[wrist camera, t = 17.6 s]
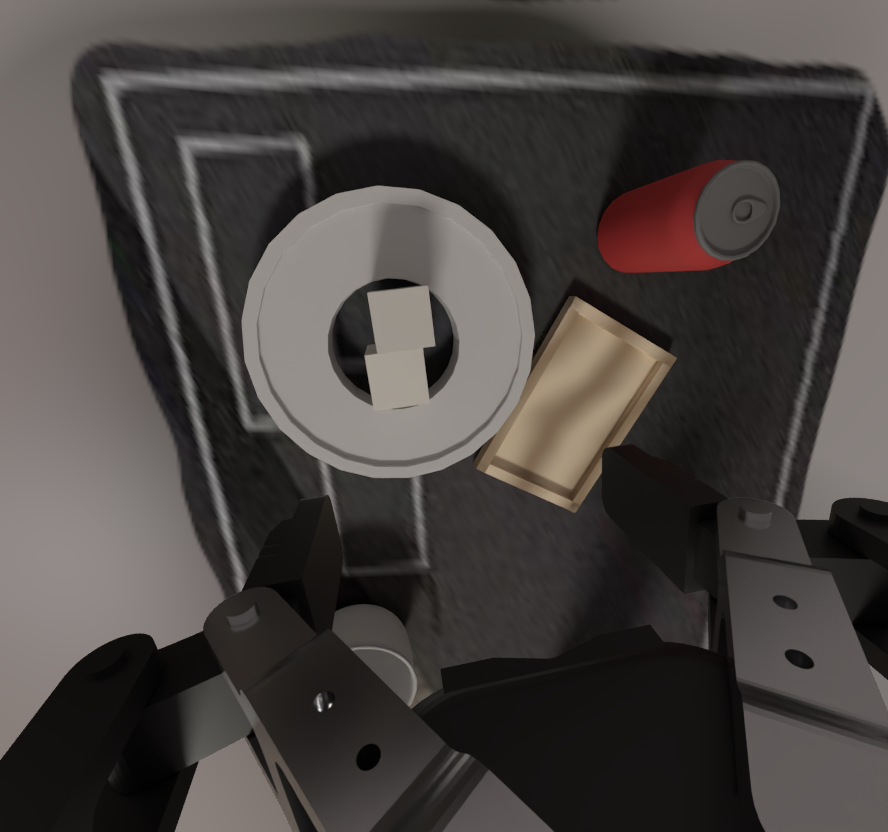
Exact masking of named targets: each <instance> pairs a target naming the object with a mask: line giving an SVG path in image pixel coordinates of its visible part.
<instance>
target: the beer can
mask: <svg viewBox="0 0 888 832" xmlns="http://www.w3.org/2000/svg"><path fill="white" fill-rule="evenodd" d="M779 209H780V190H779V187H778V183H777V180H776V178H775V176H774V175H773V174H772V172H771V171H770V170H769V168H768V167H766V166H765V165H763V164H761V163H759V162H757V161H751V160H741V161H733V160H715V161H712V162H708V163H705V164H702V165H699V166H696V167H693V168H691V169H688V170H685V171H683V172H680V173H677V174H675V175H672V176H669V177H666V178H664V179H661V180H658V181H656V182H653V183H650V184H648V185H645V186H642V187H640V188H637V189H634V190H631V191H629V192H626V193H623V194H622V195H621V196H619V197H618V198H616V199H615V200H613V201H612V203H611V204H610V205H609V206H608V208H607V209H606V210H605V211H604V214H603V216H602V218H601V221H600V223H599V228H598V235H597V239H598V246H599V250H600V253H601V255H602V257H603V259H604V260H605V261H606V262H607V263H608V264H609V265H610V266H611V267H612V268H613V269H616V270H618V271H620V272H626V273H641V272H669V271H697V270H709V269H713V268H716V267H719V266H722V265H725V264H728V263H730V262H732V261H734V260H737V259H740V258H744V257H746V256H748V255H749V254H751V253H752V252H754V251H755V250H757V249H758V248H759V247H760V246H761V245H762V244H763V243H764V241H765V240H766V239H767V238H768V237H769V235H770V233H771V231H772V229H773V227H774V226H775V224H776V221H777V217H778V213H779Z"/></svg>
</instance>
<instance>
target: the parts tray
mask: <svg viewBox="0 0 888 832" xmlns="http://www.w3.org/2000/svg"><path fill="white" fill-rule="evenodd" d="M676 359H677V358H676V357H674V356H673V355H671V354H669V353H668V352H666V351H664V350H663V349H661V348H660V347H658V346H656V345H655V344H653V343H651V342H650V341H648V340H646V339H645V338H643V337H642V336H640V335H638V334H637V333H635V332H633V331H632V330H630V329H628V328H627V327H625V326H624V325H622V324H620V323H619V322H617V321H615V320H614V319H612V318H610V317H609V316H607V315H605V314H604V313H602V312H601V311H599V310H597V309H596V308H594V307H592V306H591V305H589V304H587V303H586V302H584V301H583V300H581V299H579V298H578V297H576V296H569V297H568V299H567V301H566V302H565V304H564V306H563V308H562V309H561V311H560V313H559V315H558V316H557V318H556V320H555V321H554V323H553V325H552V327H551V328H550V330H549V332H548V334H547V335H546V337H545V339H544V341H543V342H542V344H541V346H540V348H539V349H538V351H537V353H536V355H535V356H534V358H533V360H532V362H531V370H530V373H529V376H528V378H527V381H526V383H525V386H524V389H523V391H522V394H521V396H520V399H519V401H518V404H517V405H516V407H515V408H514V410H513V411H512V412H511V414H510V415H509V417H508V418H507V419H506V421H505V422H504V424H503V425H502V427H501V428H500V429H499V431H498V432H497V433H496V434H495V435H494V436H492V437H491V438H490V439H489V440H488V441H487V442H486V443H484V445H483V447H482V448H481V450H480V452H479V454H478V455H477V457H476V459H475V461H474V462H473V464H474V466H475V468H476V469H477V470H480V471H482V472H484V473H486V474H489V475H491V476H493V477H495V478H498V479H500V480H502V481H504V482H507V483H509V484H511V485H514V486H516V487H518V488H520V489H523V490H525V491H527V492H529V493H532V494H534V495H536V496H538V497H541V498H543V499H545V500H547V501H550V502H552V503H554V504H557V505H559V506H561V507H563V508H566V509H568V510H570V511H572V512H576V511H577V509H578V508H579V506H580V505H581V503H582V502H583V500H584V499H585V497H586V496H587V494H588V493H589V491H590V490H591V488H592V487H593V485H594V483H595V482H596V480H597V479H598V477H599V476H600V474H601V473H602V453H603V450H604V449H605V448H608V447H613V446H619V445H620V444H621V442H622V441H623V439H624V438H625V436H626V435H627V433H628V432H629V430H630V429H631V427H632V426H633V424H634V423H635V421H636V420H637V418H638V417H639V415H640V414H641V412H642V411H643V409H644V408H645V406H646V404H647V403H648V401H649V400H650V398H651V397H652V395H653V394H654V392H655V391H656V389H657V388H658V386H659V385H660V383H661V382H662V380H663V379H664V377H665V376H666V374H667V373H668V371H669V370H670V368H671V367H672V365H673V363H674V362H675V360H676Z"/></svg>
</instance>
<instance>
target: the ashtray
mask: <svg viewBox="0 0 888 832" xmlns="http://www.w3.org/2000/svg"><path fill="white" fill-rule="evenodd" d="M387 278H390V279H404V280H407V281H410V282H413V283H416V284H419V285H426V286H428V289H429V292H431V293H432V294H434V296H435V297H436V298H437V299H438V300H439V301H440V303H441V304H442V305H443V306H444V308H445V310H446V312H447V314H448V316H449V318H450V320H451V325H452V330H453V335H454V340H453V352H452V355H451V358H450V361H449V364H448V367H447V368H446V370H445V372H444V373H443V375H442V376H441V378H440V379H439V380H438V381H437V382H436V383H435V384H434V385H432V386H431V387H430V388H429V389H428V393H429V401H430V403H428V404H421V405H414V406H407V407H400V408H393V409H386V410H380V411H374V408H373V402H372V396H371V395H370V394H368V393H366V392H364V391H363V390H361V389H359V388H357V387H356V386H355V385H354V384H353V383H352V382H351V381H350V380H349V379H348V378H347V377H346V376H345V374H344V373H343V371H342V369H341V368H340V366H339V364H338V363H337V359H336V356H335V352H334V349H333V327H334V324H335V320H336V316H337V314H338V312H339V310H340V308H341V307H342V305H343V303H344V302H345V300H346V299H347V298H348V297H349V296H350V295H352V294H353V293H354V292H355V291H356V290H357V289H359V288H360V287H362V286H364V285H366V284H368V283H370V282H373V281H377V280H382V279H387ZM242 333H243V345H244V357H245V363H246V366H247V368H248V371H249V374H250V377H251V379H252V382H253V385H254V387H255V390H256V393H257V396H258V398H259V400H260V401H261V403H262V404H263V405H264V407H265V408H266V410H267V411H268V413H269V414H270V415H271V417H272V418H273V420H274V421H275V423H276V424H277V425H278V427H279V428H280V430H282V431H283V432H284V433H285V434H286V435H287V436H289V437H290V438H291V439H292V440H293V441H294V442H295V443H297V444H298V445H299V446H300V447H301V448H302V449H304V450H305V451H306V452H307V453H308V454H310V455H312V456H314V457H316V458H318V459H320V460H322V461H324V462H326V463H328V464H330V465H332V466H334V467H336V468H338V469H340V470H343V471H347V472H352V473H356V474H360V475H364V476H369V477H373V478H410V477H414V476H418V475H422V474H426V473H431V472H435V471H439V470H442V469H444V468H446V467H448V466H450V465H452V464H454V463H456V462H458V461H460V460H462V459H464V458H466V457H468V456H470V455H471V454H473V453H474V452H475V451H476V450H477V449H479V448H480V447H481V446H482V445H483V444H484V443H486V442H487V441H488V440H489V439H490V438H491V437H492V436H494V435H495V434H496V433H497V432H498V431H499V429H500V428H501V427H502V425H503V424H504V422H505V421H506V419H507V418H508V417H509V415H510V414H511V412H512V411H513V410H514V408H515V407H516V405H517V404H518V401H519V399H520V396H521V394H522V391H523V389H524V386H525V383H526V381H527V378H528V376H529V373H530V370H531V362H532V354H533V346H534V338H535V333H534V325H533V317H532V309H531V301H530V297H529V294H528V292H527V289H526V287H525V284H524V282H523V279H522V277H521V274H520V272H519V269H518V267H517V264H516V262H515V261H514V259H513V258H512V257H511V255H510V254H509V253H508V251H507V250H506V249H505V247H504V246H503V245H502V243H501V242H500V241H499V239H498V238H497V237H496V235H495V234H494V233H493V231H492V230H491V229H489V228H488V227H487V226H485V225H484V224H483V223H481V222H480V221H479V220H478V219H476V218H475V217H474V216H472V215H471V214H470V213H469V212H467V211H466V210H465V209H463V208H462V207H461V206H459V205H457V204H455V203H452V202H450V201H447V200H445V199H442V198H440V197H437V196H435V195H432V194H430V193H427V192H425V191H422V190H419V189H409V188H398V187H388V186H373V187H368V188H363V189H358V190H353V191H348V192H343V193H338V194H335V195H333V196H331V197H329V198H327V199H325V200H324V201H322V202H320V203H318V204H316V205H314V206H312V207H311V208H309V209H307V210H305V211H303V212H301V213H299V214H298V215H297V216H296V217H295V218H294V219H293V220H292V221H291V222H290V223H289V224H288V225H287V226H286V227H285V228H284V229H283V230H282V231H281V232H280V233H279V234H278V235H277V236H276V237H275V238H274V239H273V240H272V241H271V242H270V243H269V245H268V247H267V248H266V250H265V252H264V254H263V256H262V258H261V260H260V262H259V264H258V266H257V268H256V269H255V271H254V273H253V275H252V277H251V279H250V281H249V286H248V291H247V296H246V301H245V306H244V311H243V316H242Z"/></svg>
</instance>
